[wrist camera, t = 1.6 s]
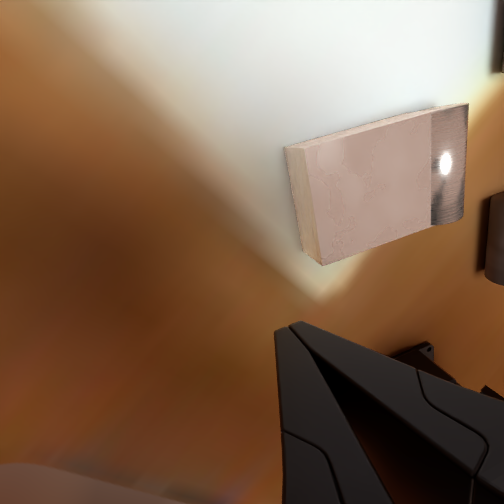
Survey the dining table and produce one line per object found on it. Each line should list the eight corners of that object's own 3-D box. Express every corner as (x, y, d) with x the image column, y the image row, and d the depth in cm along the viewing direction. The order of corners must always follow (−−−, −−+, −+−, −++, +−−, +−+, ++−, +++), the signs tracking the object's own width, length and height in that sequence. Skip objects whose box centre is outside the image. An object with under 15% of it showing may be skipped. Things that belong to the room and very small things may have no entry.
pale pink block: (432, 204, 24) (476, 215, 21) (301, 250, 22) (327, 269, 19) (433, 105, 21) (484, 98, 18) (283, 147, 19) (309, 148, 16)
